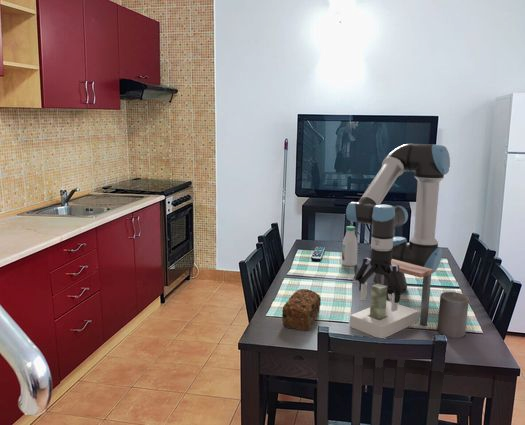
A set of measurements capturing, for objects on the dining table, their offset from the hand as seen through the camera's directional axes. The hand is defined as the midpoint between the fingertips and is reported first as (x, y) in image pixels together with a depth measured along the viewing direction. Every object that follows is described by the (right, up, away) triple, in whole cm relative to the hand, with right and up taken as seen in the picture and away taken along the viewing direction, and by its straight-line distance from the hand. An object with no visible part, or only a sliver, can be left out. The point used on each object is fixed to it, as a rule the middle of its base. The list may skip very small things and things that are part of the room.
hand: (378, 305), depth 186 cm
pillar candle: (+26, -10, -2) cm, 28 cm away
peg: (0, -9, +2) cm, 9 cm away
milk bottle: (+3, +7, +79) cm, 80 cm away
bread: (-27, -7, +8) cm, 29 cm away
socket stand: (+4, -8, +5) cm, 10 cm away
